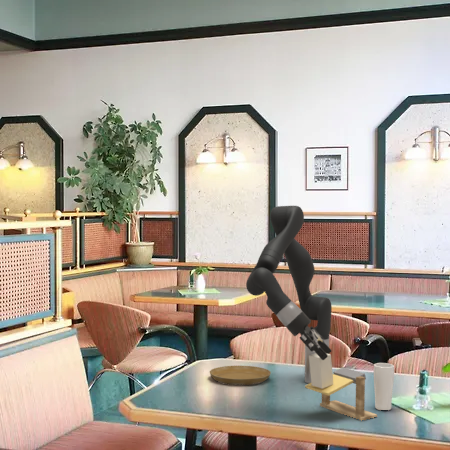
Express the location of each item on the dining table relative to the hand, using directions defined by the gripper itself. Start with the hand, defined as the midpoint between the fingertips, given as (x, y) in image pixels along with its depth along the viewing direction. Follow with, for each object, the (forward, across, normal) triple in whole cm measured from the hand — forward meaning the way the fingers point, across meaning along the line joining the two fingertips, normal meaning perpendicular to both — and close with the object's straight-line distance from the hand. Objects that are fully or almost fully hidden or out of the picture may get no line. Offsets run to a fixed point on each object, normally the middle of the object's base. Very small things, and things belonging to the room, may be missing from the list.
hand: (327, 355), depth 233 cm
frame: (+18, +9, +10) cm, 23 cm away
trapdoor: (+9, +4, +6) cm, 12 cm away
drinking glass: (+26, +16, +2) cm, 31 cm away
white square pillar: (+6, 0, +8) cm, 10 cm away
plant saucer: (-14, +40, +43) cm, 60 cm away
